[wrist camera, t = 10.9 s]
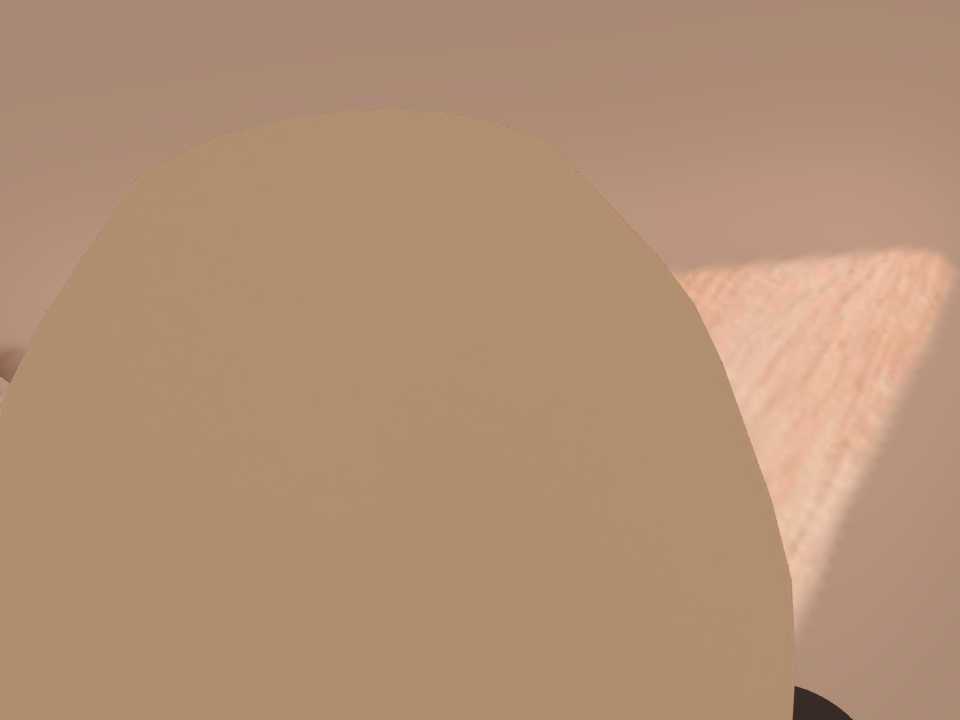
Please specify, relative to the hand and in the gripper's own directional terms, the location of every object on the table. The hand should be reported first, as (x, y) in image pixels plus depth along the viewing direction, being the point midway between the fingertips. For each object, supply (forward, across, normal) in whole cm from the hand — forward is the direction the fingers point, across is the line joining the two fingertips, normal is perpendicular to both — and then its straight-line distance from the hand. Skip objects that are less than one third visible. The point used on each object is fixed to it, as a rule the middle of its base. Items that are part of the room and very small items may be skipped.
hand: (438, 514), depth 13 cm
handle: (+4, 0, +6) cm, 7 cm away
